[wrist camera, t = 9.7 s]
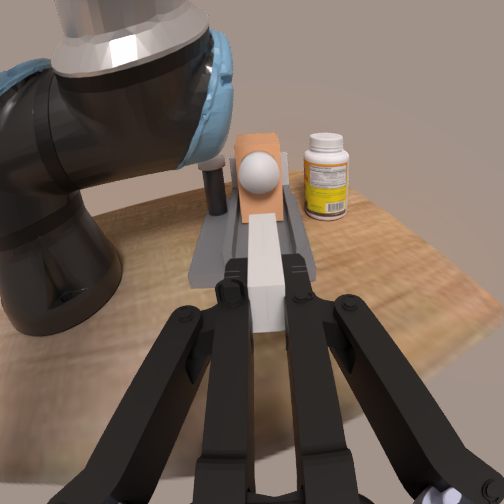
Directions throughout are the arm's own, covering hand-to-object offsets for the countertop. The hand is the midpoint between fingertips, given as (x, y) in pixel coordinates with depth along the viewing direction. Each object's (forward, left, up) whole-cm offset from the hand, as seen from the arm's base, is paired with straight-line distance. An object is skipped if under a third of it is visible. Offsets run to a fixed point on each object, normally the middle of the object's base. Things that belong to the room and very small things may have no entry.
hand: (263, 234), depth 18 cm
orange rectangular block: (0, +17, -7) cm, 18 cm away
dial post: (-6, +19, -7) cm, 21 cm away
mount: (-1, +15, -9) cm, 17 cm away
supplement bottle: (+8, +20, -9) cm, 23 cm away
